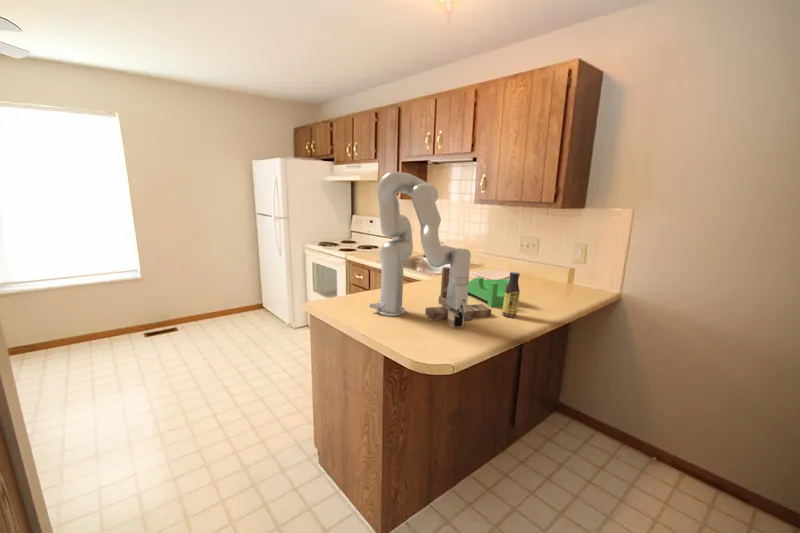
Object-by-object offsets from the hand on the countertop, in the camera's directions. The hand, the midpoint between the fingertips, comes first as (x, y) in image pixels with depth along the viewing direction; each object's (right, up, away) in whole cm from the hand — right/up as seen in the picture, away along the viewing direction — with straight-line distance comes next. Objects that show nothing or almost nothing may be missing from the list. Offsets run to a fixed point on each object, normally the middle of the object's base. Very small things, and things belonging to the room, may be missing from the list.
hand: (455, 323), depth 144 cm
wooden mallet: (0, +4, +25) cm, 25 cm away
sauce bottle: (+27, +1, +15) cm, 31 cm away
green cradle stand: (+22, +5, +39) cm, 45 cm away
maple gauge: (+2, -1, +1) cm, 3 cm away
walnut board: (+3, +1, +13) cm, 13 cm away
